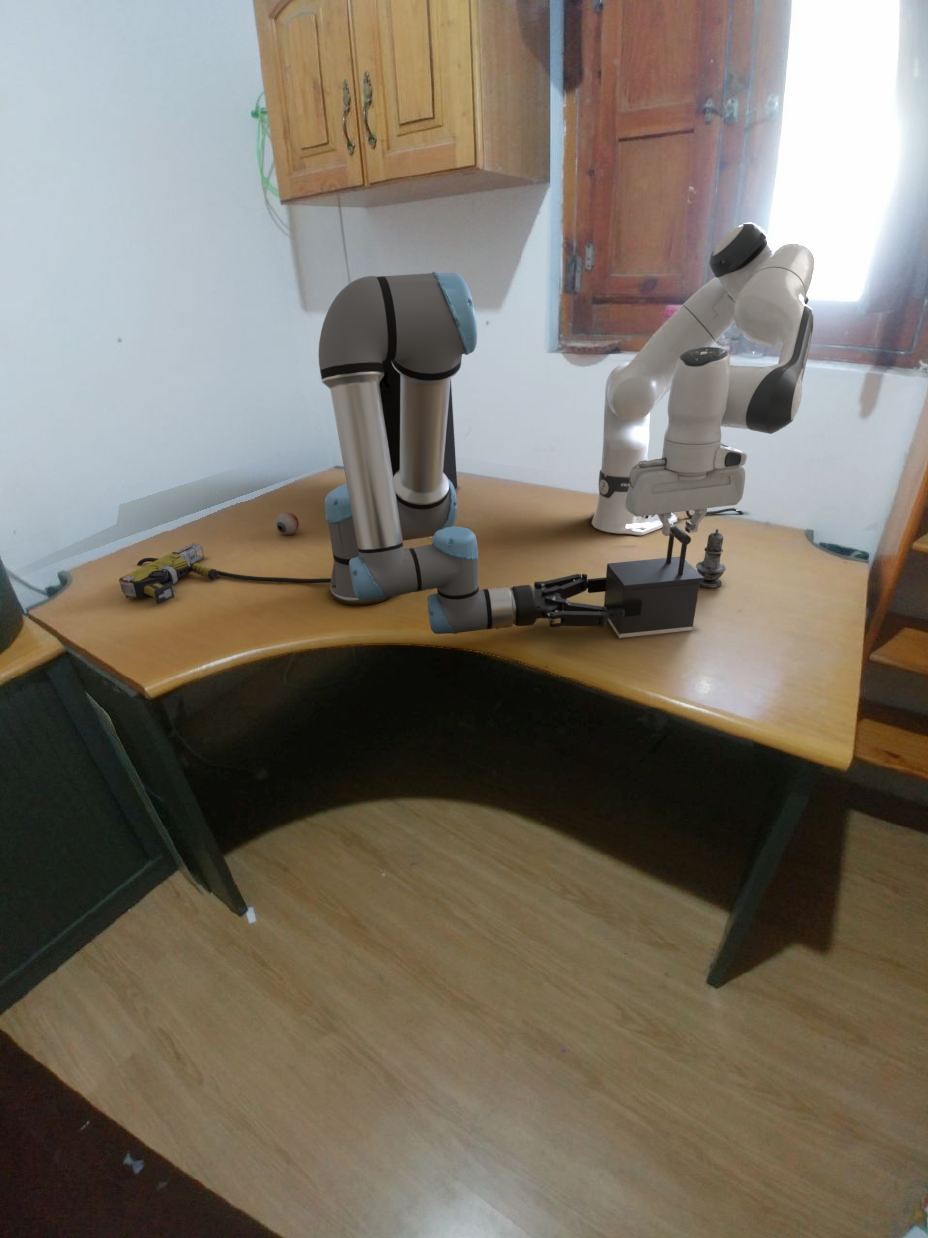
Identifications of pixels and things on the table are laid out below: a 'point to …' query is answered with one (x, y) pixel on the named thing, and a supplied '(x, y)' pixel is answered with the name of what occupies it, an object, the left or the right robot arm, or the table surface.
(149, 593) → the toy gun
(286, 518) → the eyeball
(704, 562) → the salt shaker
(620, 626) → the chest
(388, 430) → the black computer tower
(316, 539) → the table surface
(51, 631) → the table surface
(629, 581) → the lid
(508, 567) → the table surface
